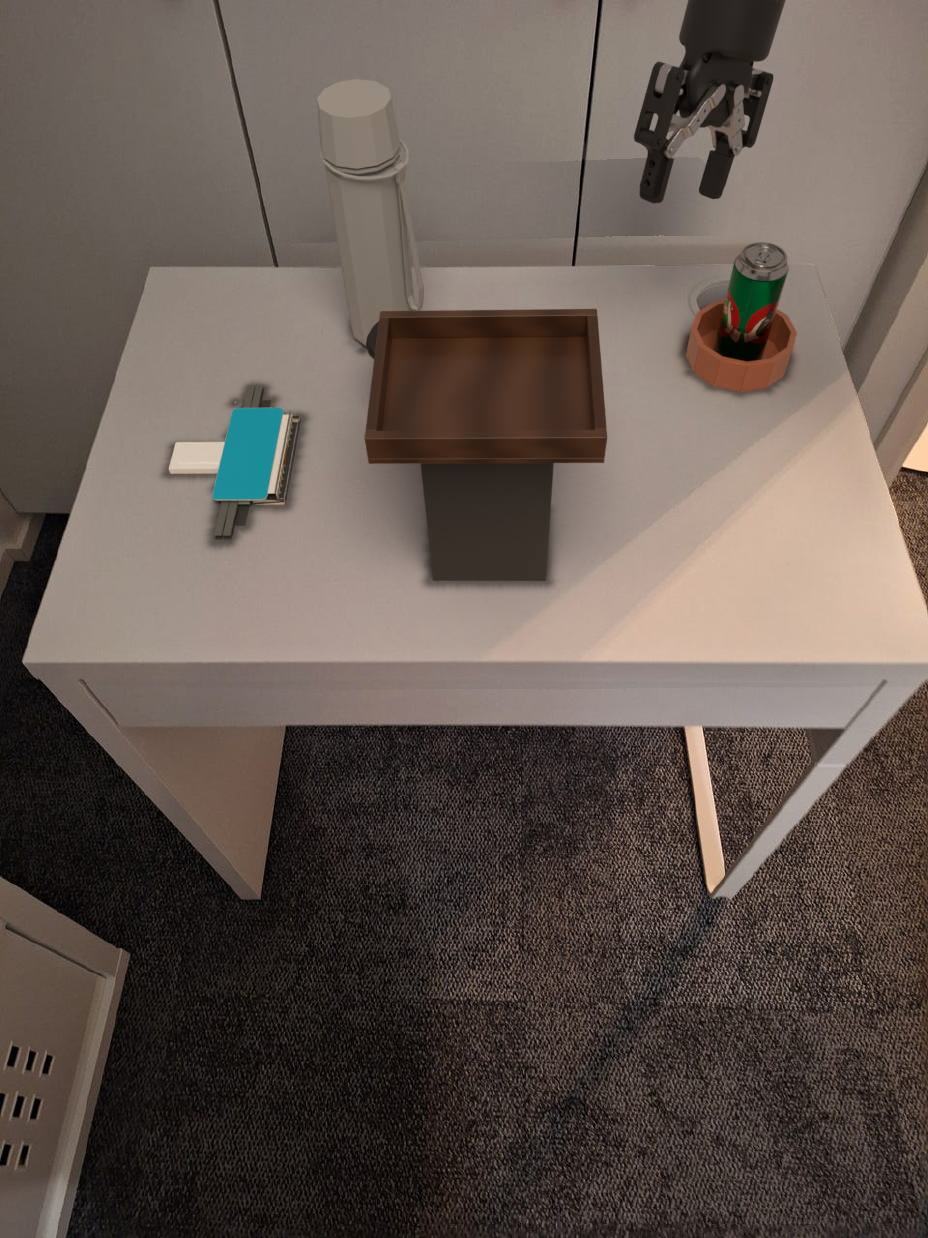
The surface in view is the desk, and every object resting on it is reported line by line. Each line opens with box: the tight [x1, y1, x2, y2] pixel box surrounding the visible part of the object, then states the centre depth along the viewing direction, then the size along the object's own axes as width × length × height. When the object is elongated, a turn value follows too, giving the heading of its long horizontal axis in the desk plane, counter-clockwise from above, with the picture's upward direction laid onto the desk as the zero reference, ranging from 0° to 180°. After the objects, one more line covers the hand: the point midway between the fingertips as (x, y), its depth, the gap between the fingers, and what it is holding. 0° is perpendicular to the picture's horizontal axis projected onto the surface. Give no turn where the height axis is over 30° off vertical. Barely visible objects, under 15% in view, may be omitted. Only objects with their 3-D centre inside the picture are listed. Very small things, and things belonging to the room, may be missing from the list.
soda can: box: [713, 241, 790, 362], centre depth 91 cm, size 5×5×12 cm
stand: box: [420, 463, 555, 582], centre depth 76 cm, size 10×8×18 cm
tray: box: [364, 308, 608, 465], centre depth 67 cm, size 17×14×2 cm
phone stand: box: [168, 384, 302, 541], centre depth 90 cm, size 20×12×2 cm, turn 178°
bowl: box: [685, 299, 798, 393], centre depth 94 cm, size 10×10×4 cm
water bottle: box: [316, 78, 425, 347], centre depth 89 cm, size 9×8×25 cm
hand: (680, 198), depth 83 cm, fingers open, 8 cm apart
